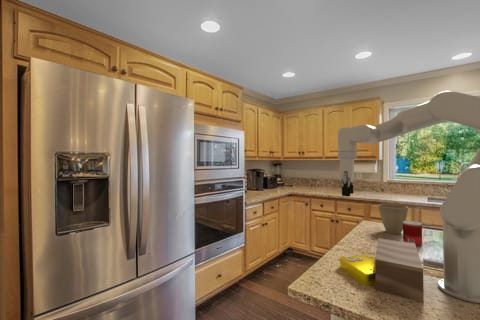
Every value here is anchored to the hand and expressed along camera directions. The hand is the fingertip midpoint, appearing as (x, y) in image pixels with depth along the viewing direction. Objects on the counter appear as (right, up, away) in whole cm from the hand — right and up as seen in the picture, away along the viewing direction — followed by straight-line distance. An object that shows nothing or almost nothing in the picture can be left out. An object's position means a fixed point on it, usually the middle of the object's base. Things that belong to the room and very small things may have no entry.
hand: (347, 194), depth 100 cm
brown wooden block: (+10, -28, -17) cm, 34 cm away
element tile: (+1, -29, -13) cm, 32 cm away
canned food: (+41, -28, +17) cm, 53 cm away
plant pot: (+45, -28, +37) cm, 64 cm away
